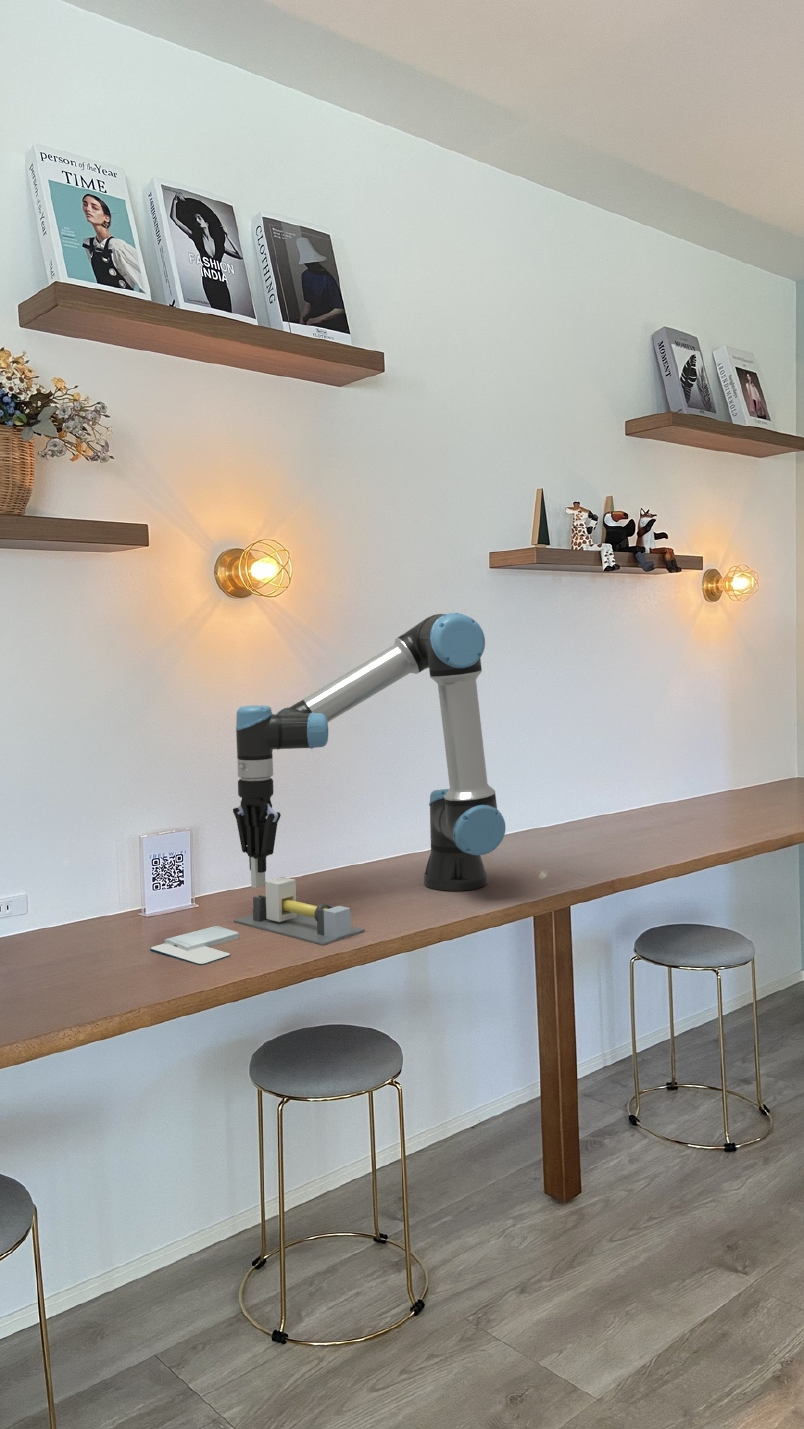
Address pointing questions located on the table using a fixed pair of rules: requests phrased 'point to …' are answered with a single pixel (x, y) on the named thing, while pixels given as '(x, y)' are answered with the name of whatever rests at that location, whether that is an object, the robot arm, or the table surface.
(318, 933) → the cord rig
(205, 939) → the hard drive
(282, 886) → the sleeve
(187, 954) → the smartphone
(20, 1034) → the table surface
